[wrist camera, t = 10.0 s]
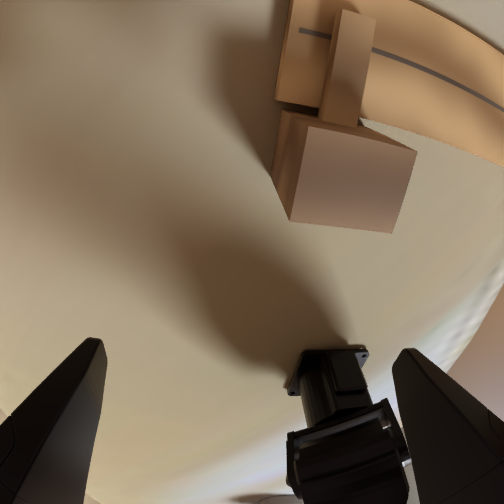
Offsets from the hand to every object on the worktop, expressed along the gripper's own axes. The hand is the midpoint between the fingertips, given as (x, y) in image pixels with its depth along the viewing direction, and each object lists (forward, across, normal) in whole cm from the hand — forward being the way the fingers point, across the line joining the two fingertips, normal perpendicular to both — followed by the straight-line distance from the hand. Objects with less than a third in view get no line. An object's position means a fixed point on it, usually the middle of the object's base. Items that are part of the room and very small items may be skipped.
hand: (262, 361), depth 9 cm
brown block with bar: (+12, -4, -6) cm, 14 cm away
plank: (+12, -11, -10) cm, 19 cm away
